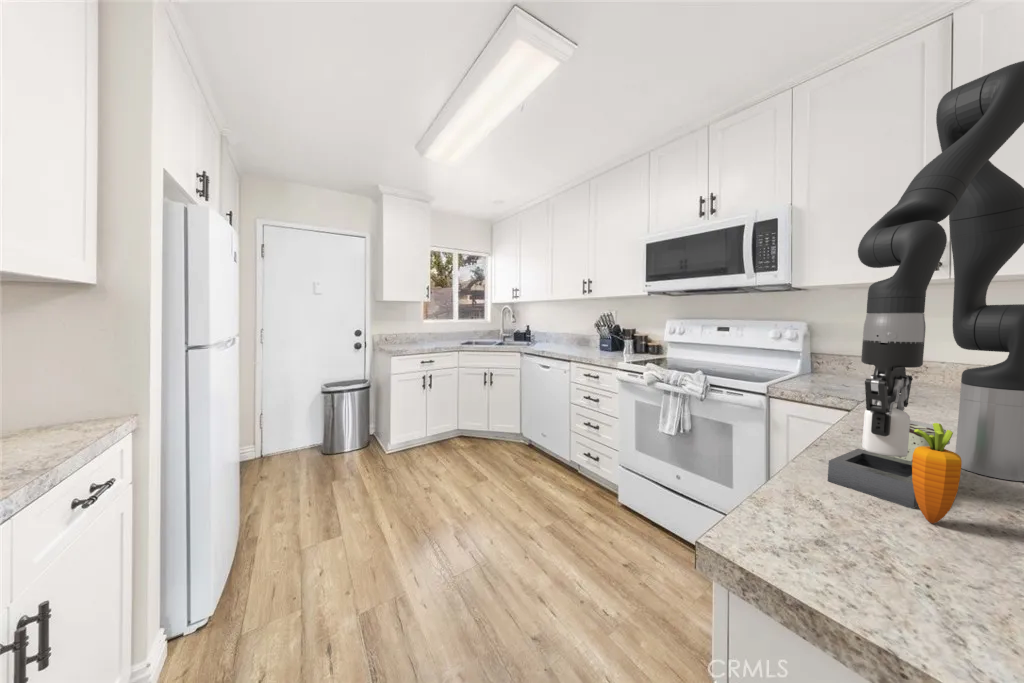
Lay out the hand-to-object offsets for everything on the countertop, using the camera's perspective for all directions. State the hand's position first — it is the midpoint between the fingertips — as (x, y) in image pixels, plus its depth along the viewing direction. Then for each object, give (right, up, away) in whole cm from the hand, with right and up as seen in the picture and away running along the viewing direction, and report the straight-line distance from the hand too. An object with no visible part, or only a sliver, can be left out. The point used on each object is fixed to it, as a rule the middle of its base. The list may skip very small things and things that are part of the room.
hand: (885, 432), depth 64 cm
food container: (+12, -10, +6) cm, 16 cm away
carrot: (-5, -11, -11) cm, 16 cm away
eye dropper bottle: (0, -4, 0) cm, 4 cm away
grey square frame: (0, -10, +1) cm, 10 cm away
